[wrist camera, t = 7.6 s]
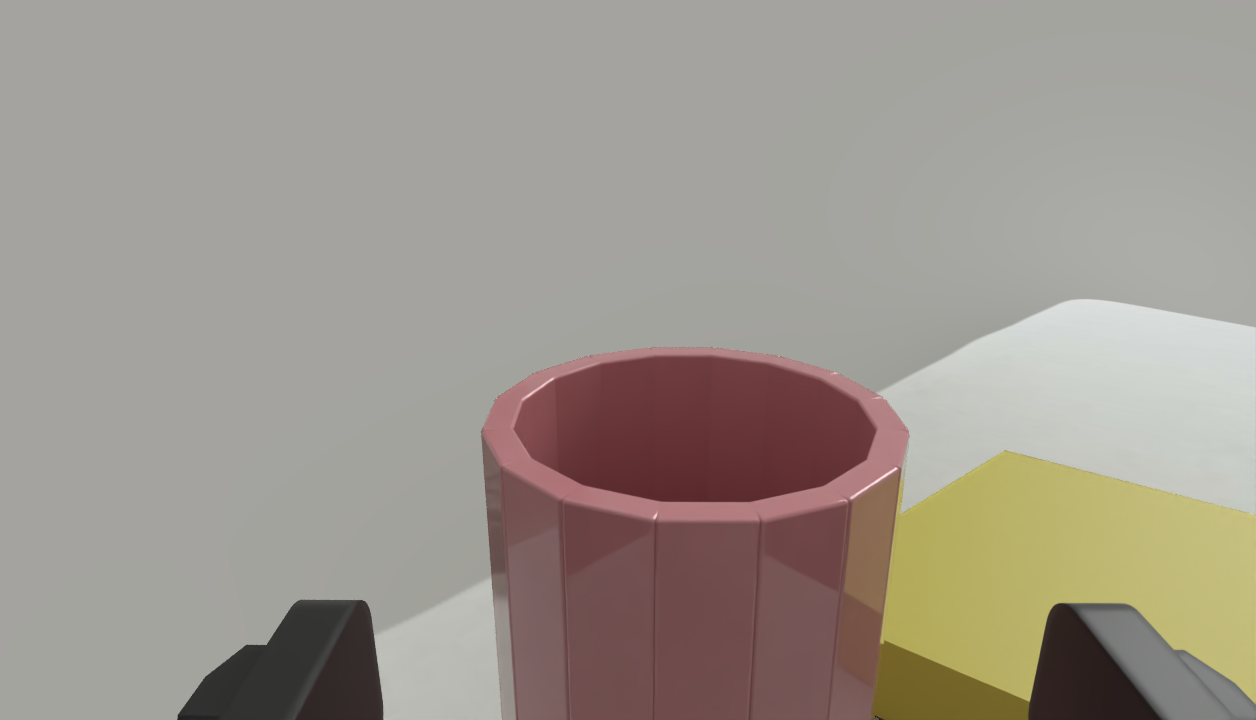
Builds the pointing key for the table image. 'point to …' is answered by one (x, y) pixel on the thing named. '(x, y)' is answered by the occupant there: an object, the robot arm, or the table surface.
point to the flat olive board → (1053, 582)
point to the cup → (691, 538)
